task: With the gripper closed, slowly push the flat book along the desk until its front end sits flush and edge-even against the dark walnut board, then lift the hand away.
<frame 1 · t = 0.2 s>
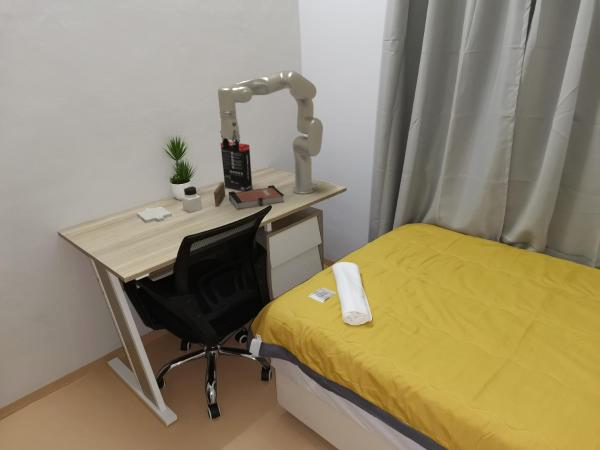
hand: (231, 150, 196), 31 cm above the table, tool pointing down, fingers open, 9 cm apart
medicine bottle: (192, 209, 209), on the table
mounting plate: (154, 216, 202), on the table
book: (256, 202, 219), on the table
graphics card box: (238, 188, 238), on the table
walnut board: (220, 200, 220), on the table
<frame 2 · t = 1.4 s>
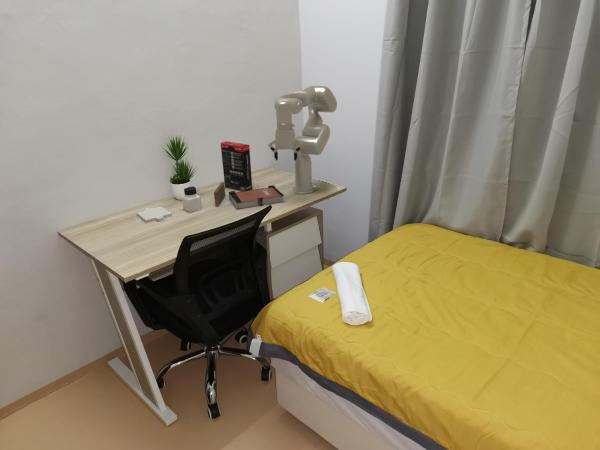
hand: (285, 159, 207), 23 cm above the table, tool pointing down, fingers open, 9 cm apart
nothing on the table moved.
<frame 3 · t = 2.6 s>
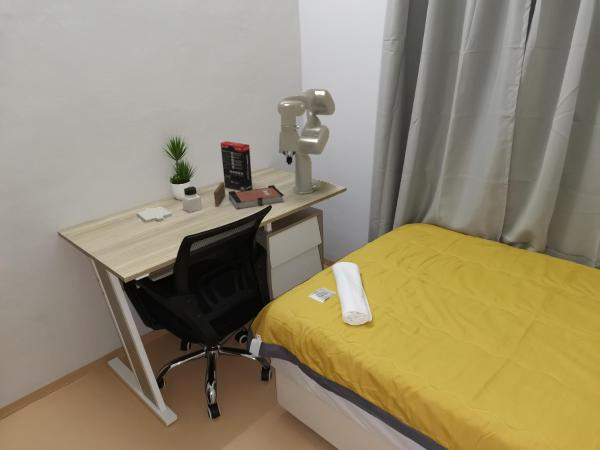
hand: (289, 163, 208), 21 cm above the table, tool pointing down, fingers closed
nothing on the table moved.
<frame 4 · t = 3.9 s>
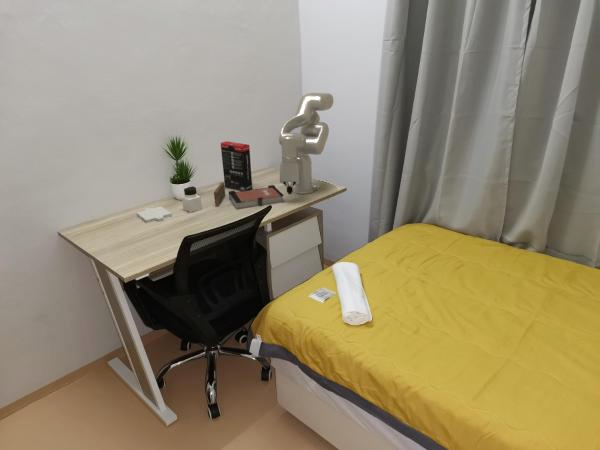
hand: (289, 193, 214), 5 cm above the table, tool pointing down, fingers closed
nothing on the table moved.
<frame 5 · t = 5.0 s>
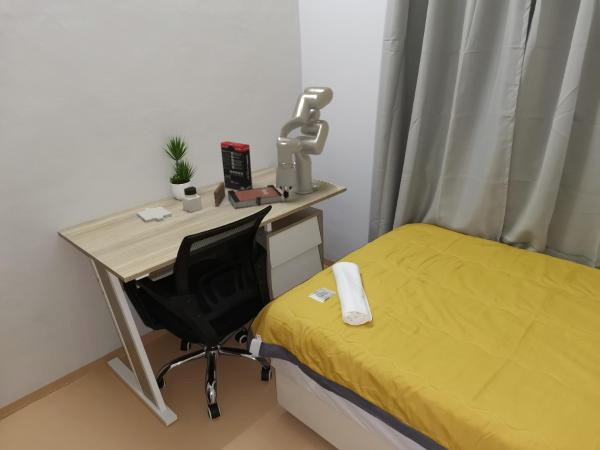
hand: (286, 197, 216), 2 cm above the table, tool pointing down, fingers closed
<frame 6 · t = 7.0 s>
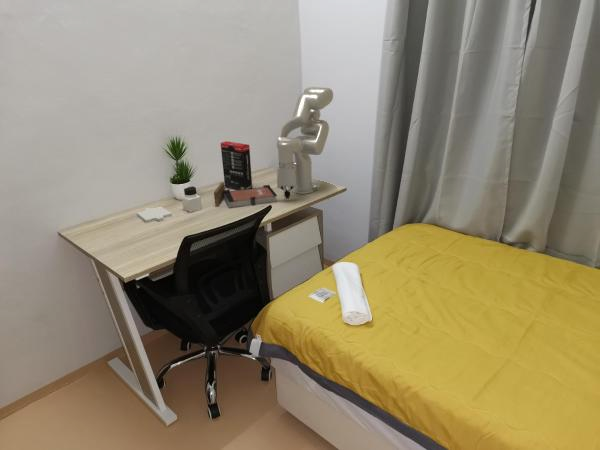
hand: (287, 197, 216), 2 cm above the table, tool pointing down, fingers closed
book: (250, 201, 220), on the table
everything else where it was.
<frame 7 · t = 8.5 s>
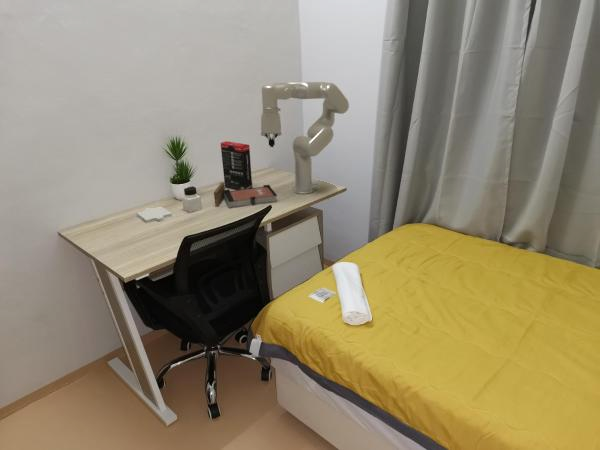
hand: (271, 146, 210), 29 cm above the table, tool pointing down, fingers closed
nothing on the table moved.
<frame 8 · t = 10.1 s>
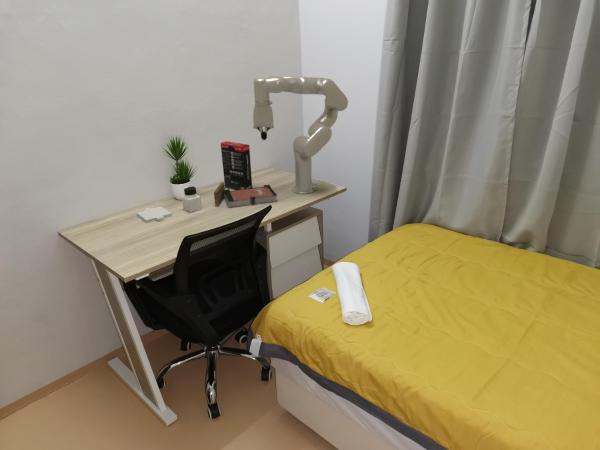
hand: (264, 139, 211), 32 cm above the table, tool pointing down, fingers closed
nothing on the table moved.
at the end: book 1.9 cm from the target spot on the table beside the walnut board, on the table; book tilted 0° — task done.
